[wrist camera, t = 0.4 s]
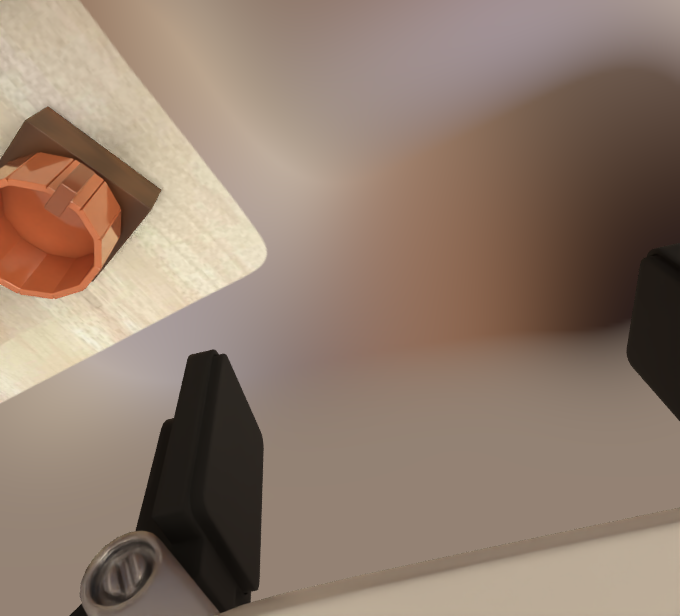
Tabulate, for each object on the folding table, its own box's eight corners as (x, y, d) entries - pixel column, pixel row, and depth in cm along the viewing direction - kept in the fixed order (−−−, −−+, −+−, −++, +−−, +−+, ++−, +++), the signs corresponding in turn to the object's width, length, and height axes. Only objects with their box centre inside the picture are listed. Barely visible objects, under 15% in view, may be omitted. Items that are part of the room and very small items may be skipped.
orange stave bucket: (-23, 212, 46) (-84, 263, 39) (47, 104, 42) (-7, 137, 34) (86, 278, 51) (51, 335, 43) (158, 187, 47) (134, 232, 39)
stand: (-6, 188, 50) (-31, 208, 46) (47, 106, 47) (25, 119, 42) (106, 258, 56) (92, 282, 51) (161, 189, 52) (151, 209, 48)
